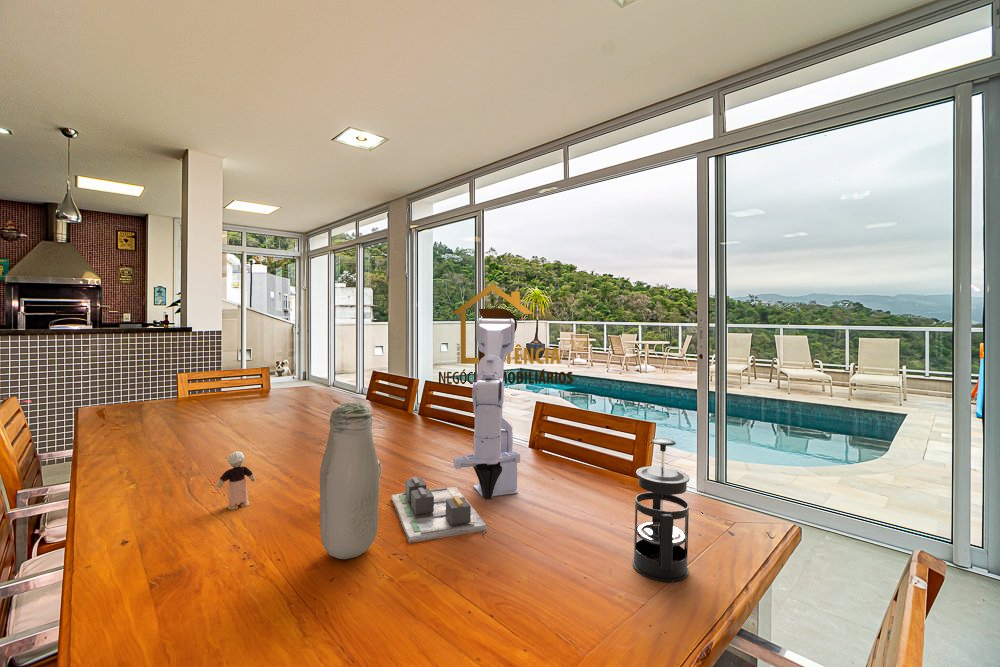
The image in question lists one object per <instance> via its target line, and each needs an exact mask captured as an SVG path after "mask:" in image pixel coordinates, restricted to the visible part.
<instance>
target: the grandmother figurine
mask: <svg viewBox="0 0 1000 667" xmlns="http://www.w3.org/2000/svg"><path fill="white" fill-rule="evenodd" d="M244 461H245V455H244V454H243V452H242V451H239V450H238V451H234V452H232V453H230V454H229V456H228V458H227V462H228V464H229V465H230V466H231V467H232V468H230V469H227V470H226V471H224V473H222V475H221V476H220V478H219V481H218V483H217V485H216V487H217V488H219V489H221V488H222V487H223V485H224V483H225V482H227V481H228V484H227V485H228V488H227V489H228V495H227V496H228V505H227V509H229V510H231V511H233V510H237V509H238V508H239V506H240V507H241V508H243V507H244V508H245V507H248V506H249V505H250V501H249V499H248V486H247V481H246V480H247V479H246V478H245V476H246V477H248V479H250V481H251V482H253V483H254V482H255V481H256V480H257V479H256V477H255V476H254V474H253V471H251V470H250V469H249V467H247V466H242V465H243V462H244ZM238 504H239V506H238Z"/></svg>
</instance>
